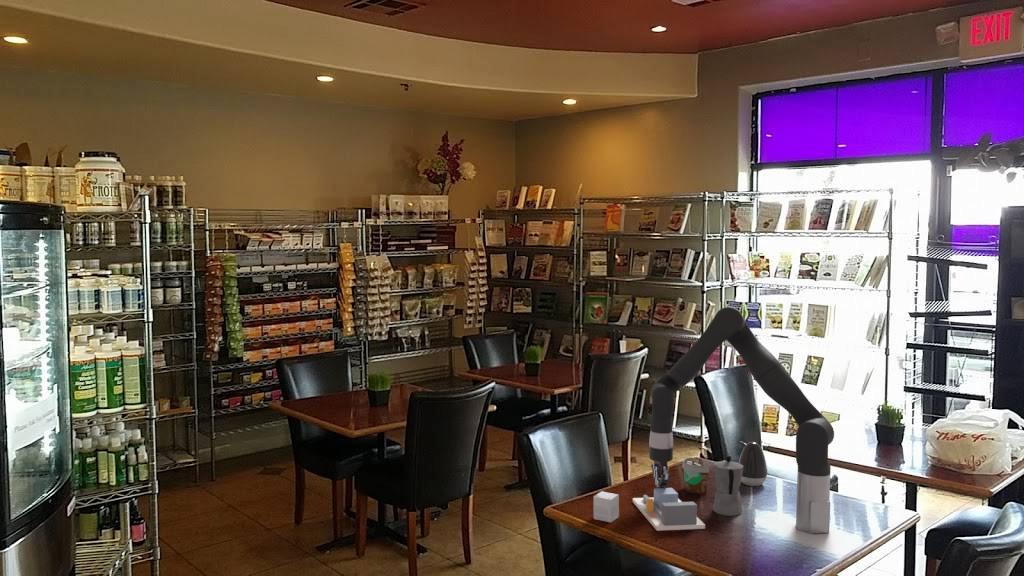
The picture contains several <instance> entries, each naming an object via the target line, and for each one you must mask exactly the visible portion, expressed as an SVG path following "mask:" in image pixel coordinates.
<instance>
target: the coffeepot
mask: <svg viewBox="0 0 1024 576" xmlns="http://www.w3.org/2000/svg"><path fill="white" fill-rule="evenodd" d="M725 458H726V460H725V459H723V460H721V461H720V460H719V461H715V462H714V463H713V470H714V471H713V472H714V478H715V479H714V480H715V481H714V482H715V485H716V486H717V487H716V491H715V493H714V494H715V496H714V501H713V505H712V511H713V512H714V513H716V514H718V515H721V516H727V517H733V516H734V517H735V516H739V515H741V514H742V512H743V506H742V505H743V504H742V501H741V499H742V498H741V493H740V487H741V483H742V482H741V478H742V473H743V467H744V466H743V465H741V464H739V462H735V461H732V456H731V455H726V456H725Z"/></svg>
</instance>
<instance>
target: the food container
mask: <svg viewBox="0 0 1024 576" xmlns="http://www.w3.org/2000/svg"><path fill="white" fill-rule="evenodd" d="M681 468H682V469H683V476H684V477H683V478H684V491H686V492H687V493H690V494H693V495H707V493H708V483H709V482H708V481H709V473H710V467H709V465H707V466H705V465H703V464H702V463H700V462H696V461H694V460H693V458H692V457H690V456H689V457H686V458H684V459H683V460H682V464H681Z"/></svg>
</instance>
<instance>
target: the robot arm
mask: <svg viewBox="0 0 1024 576" xmlns="http://www.w3.org/2000/svg"><path fill="white" fill-rule="evenodd" d="M725 341H727V343H729V345H731V346H732V348H734V349H735V351H736V352H737V354H738V355H739V357H740V358H741V359H742V361H743V363H744V364H745V366H746V368H747V369H748V371H749V373H750V374H751V376H752V378H753V379H754V380H755V382H756V383H757V384H758V386H759V387H760V388H761V389H762V391H763V392H764V393H765V394H766V395H767V396H768V397H769V398H770V399H771V400H772V401H773V402H775V403H777V404H778V405H779V406H780V407H781V408H783V409H784V410H785V411H786V412H788V414H789V415H790V416H791V417H792V418H793V420H794V421H795V422H796V424H797V425H798V428H797V430H796V434H795V435H796V436H795V460H796V464H797V478H796V479H797V482H796V508H795V509H796V513H795V515H796V516H795V527H796V528H797V529H799V530H800V531H804V532H807V533H808V534H828V533H830V525H831V524H830V523H831V521H830V520H831V501H830V494H831V493H830V491H831V490H830V489H831V464H830V462H829V445H830V444H832V443H833V441H834V438H835V431H834V427H833V425H832V424H831V422H830V421H829V420H828V419H827V418H826V417H825V416H824V415H823V414H822V413H821V411H819V410H818V409H817V408H816V406H814V404H812V402H811V401H810V399H808V397H807V396H806V395H805V394H804V393H803V391H802V389H801V388H800V387H799V386H798V384H797V383H796V382H795V380H794V379H793V378H792V377H791V375H790V373H789V372H788V371H787V370H786V368H785V367H784V365H782V363H781V362H780V361H779V360H778V359H777V358H776V357H775V356H774V355H773V353H772V352H771V351H769V349H767V348H766V347H765V346H764V345H763V344H762V343H761V342H760V341H759V339H758V338H757V337H756V336H755V335H754V333H753V331H752V330H751V328H750V326H749V325H748V324H747V321H746V320H745V317H744V316H743V313H741V311H740V310H739V309H737V308H735V307H731V306H726V307H725V306H724V307H722V308H720V309H719V310H718V311H717V312H716V313H715V315H714V317H713V318H712V320H711V321H710V322H709V324H708V326H707V327H706V329H705V330H704V331H703V332H702V334H701V336H700V337H699V338H698V339H697V340H696V341H695V342H694V344H692V346H691V347H690V348H689V349H688V350H687V351H686V352H685V353H684V354H683V355H682V356H681V357H680V358H679V359H678V360H677V361H676V362H675V364H674V365H673V366H672V367H671V368H670V370H668V372H666V373H665V374H664V375H662V376H661V377H660V378H659V379H658V380H657V381H656V382H655V383H654V384H653V385H652V387H651V388H650V391H649V392H650V394H649V396H650V398H651V405H652V406H651V413H652V414H651V416H650V433H649V441H648V443H649V445H648V447H649V451H648V453H649V455H648V458H649V459H650V460H651V461H653V463H652V464H650V465H651V467H650V468H651V471H652V473H651V474H652V477H653V482H654V484H655V486H656V487H655V488H666V487H668V485H669V482H670V479H671V473H668V472H669V465H668V463H669V462H670V461H673V458H674V456H673V455H674V436H673V435H674V434H673V427H674V426H673V423H674V421H673V413H674V407H675V406H674V405H675V393H676V392H677V391H679V390H680V388H682V387H685V386H687V384H689V383H690V381H692V379H694V378H695V376H696V375H697V374H699V372H700V371H701V369H703V367H704V365H705V364H706V363H707V361H708V360H709V358H711V356H712V355H713V353H714V352H715V351H716V350H717V349H718V347H720V346H721V345H722V344H723V343H724V342H725Z"/></svg>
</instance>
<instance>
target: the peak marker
mask: <svg viewBox="0 0 1024 576" xmlns="http://www.w3.org/2000/svg"><path fill="white" fill-rule="evenodd" d="M646 512H653V499H646Z"/></svg>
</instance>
